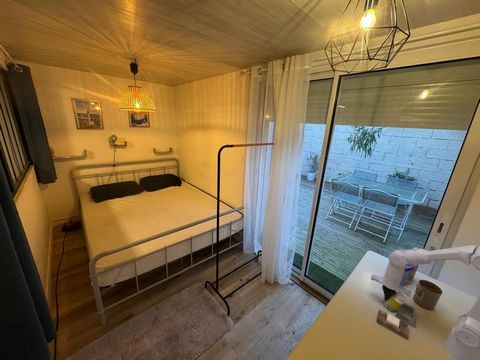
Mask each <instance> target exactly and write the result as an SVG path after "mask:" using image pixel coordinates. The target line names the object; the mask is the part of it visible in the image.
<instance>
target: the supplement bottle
mask: <svg viewBox="0 0 480 360" xmlns="http://www.w3.org/2000/svg"><path fill="white" fill-rule="evenodd" d="M406 300H407V297H406V295H405V294H403V293H401V292H399V291H396V293H395V295H393V296H391V297H389V298H388V300H387V301H385V300H384V305H385V307H386V308H387V309H389V310H390V311H391V312H396V311H397V310H399V309H400V308H401V307H400V306H402V305H403V304H404V303H405V302H406Z"/></svg>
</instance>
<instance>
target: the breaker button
mask: <svg viewBox="0 0 480 360" xmlns="http://www.w3.org/2000/svg"><path fill="white" fill-rule="evenodd" d="M385 321H386V322H388V323H390V324H391V325H393V326H395V327H397V328H399V319H398V318H396V317H395V315H392V314H389V313H387V317H386V318H385Z"/></svg>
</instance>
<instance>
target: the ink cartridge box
mask: <svg viewBox="0 0 480 360" xmlns="http://www.w3.org/2000/svg"><path fill="white" fill-rule="evenodd" d="M418 268H419V264H416V265H408V264H406V265H405V268H404V273H403V276H402V278H401V281H400V284H399V285H401V286H403V287H405V286H408V285H411V284H412V282H413V280H414V278H415V276H416V273H417V270H418Z"/></svg>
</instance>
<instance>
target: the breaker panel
mask: <svg viewBox="0 0 480 360" xmlns="http://www.w3.org/2000/svg"><path fill="white" fill-rule="evenodd" d="M387 314H388V313H387V312H386V311H383V310H381V309H380V308H379V309H378V311H377V316H376V323H377V324H378V325H380V326H383V327H384V328H385V329H388V330H390V331H391V332H393V333H395V334H396V335H399V336H400V337H402V338H404V339H405V340H407V339H408V336H409V325H408V324H407V323H405V322H403V321H401V320H399V328H397V327H395V326H393V325H391V324H390V323H388V322H386V317H387Z"/></svg>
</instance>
